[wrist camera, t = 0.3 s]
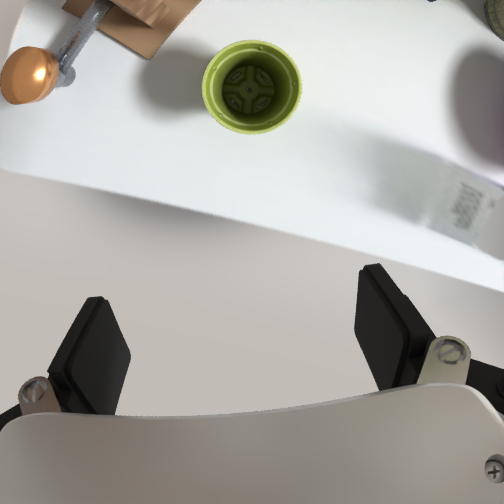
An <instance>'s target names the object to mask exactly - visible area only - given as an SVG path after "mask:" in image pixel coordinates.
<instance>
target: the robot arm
mask: <svg viewBox="0 0 504 504" xmlns="http://www.w3.org/2000/svg"><path fill="white" fill-rule="evenodd" d="M354 329H355V330H354V331H355V335H356V338H357V340H358V342H359V344H360V347H361V349H362V351H363V353H364V356H365V358H366V360H367V363H368V365H369V367H370V370H371V372H372V374H373V377H374V379H375V382H376V384H377V386H378V389H379V391H378V392H373V393H369V394H364V395H359V396H354V397H349V398H343V399H338V400H333V401H327V402H321V403H315V404H309V405H303V406H296V407H288V408H281V409H273V410H264V411H255V412H244V413H233V414H218V415H199V416H158V417H157V416H117V415H115V411H116V408H117V404H118V400H119V397H120V393H121V389H122V387H123V383H124V380H125V376H126V373H127V370H128V367H129V363H130V360H131V354H130V350H129V348H128V346H127V344H126V342H125V339H124V337H123V335H122V333H121V331H120V328H119V325H118V323H117V321H116V318H115V316H114V313H113V311H112V309H111V306H110V304H109V302H108V300H105V299H104V298H103V297H102V296H99V297H89V298H87V300H86V302H85V303H84V305H83V307H82V308H81V310H80V312H79V313H78V315H77V317H76V318H75V320H74V322H73V324H72V326H71V327H70V329H69V331H68V333H67V335H66V336H65V338H64V340H63V342H62V343H61V345H60V347H59V349H58V351H57V353H56V355H55V357H54V358H53V360H52V362H51V364H50V366H49V368H48V370H47V372H48V373H49V377H48V378H45V377H42V376H38V377H34V378H31V379H29V380H28V381H27V382H25V383H24V384H23V385H22V387H21V388H20V390H19V394H18V400H19V404H17V405H16V406H14V407H12V408H11V409H9V410H7V411H6V412H4V413H2V414H1V415H0V504H504V369H501V368H498V367H495V366H492V365H489V364H486V363H483V362H480V361H477V360H474V359H471V351H470V349H469V347H468V345H467V344H466V343H465V342H464V341H462V340H461V339H459V338H456V337H453V336H441V337H438V338H436V336H435V335H434V333H433V332H432V330H431V329H430V327H429V326H428V325H427V323H426V322H425V320H424V319H423V317H422V316H421V315H420V313H419V312H418V310H417V309H416V308H415V306H414V305H413V304H412V302H411V301H410V300H409V298H408V297H407V296H406V295H404V294H403V293H402V292H401V291H400V289H399V288H398V287H397V286H396V284H395V283H394V282H393V280H392V279H391V277H390V276H389V275H388V273H387V272H386V271H385V269H384V268H383V267H382V266H381V264H380V263H377V264H371V265H365V266H364V268H363V270H360V271H359V279H358V292H357V304H356V316H355V326H354Z"/></svg>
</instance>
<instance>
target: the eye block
mask: <svg viewBox="0 0 504 504" xmlns="http://www.w3.org/2000/svg"><path fill="white" fill-rule="evenodd" d="M110 1H112V2H113V3H115V5H114V6H113V7H112V8H111V10H110V11H109V12H108V13H107V15H106V16H105V17H104V19H103V20H102V21H101V23H100V24H99V25H98V27H97V28H98V29H100V30H101V31H103V32H105V33H106V34H108V35H110V36H111V37H113V38H115V39H116V40H118V41H120V42H121V43H123V44H125V45H126V46H128V47H129V48H131V49H133V50H134V51H136V52H137V53H139V54H140V55H142V56H144V57H145V58H147V59H148V60H150V59H151V58H152V57H153V55H154V54H155V53H156V51H157V50H158V49H159V48H160V47H161V45H162V44H163V43H164V42H165V40H166V39H167V38H168V37H169V36H170V34H171V33H172V32H173V31H174V30H175V29H176V27H177V26H178V25H179V24H180V23H181V22H182V21H183V20H184V18H185V17H186V16H187V15H188V14H189V13H190V12H191V11H192V10H193V9H194V8H195V6H196V5H197V4H198V3H199V2H200V1H201V0H110ZM93 2H94V0H67V1H66V3H65V4H64V5H63V7H62V9H64V10H66V11H67V12H69V13H71V14H73V15H75V16H77V17H79V18H80V19H81V18H82V16H83V15H84V14H85V12H86V11H87V10H88V8H89V7H90V6H91V4H92V3H93Z"/></svg>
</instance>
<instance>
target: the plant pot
mask: <svg viewBox="0 0 504 504" xmlns="http://www.w3.org/2000/svg"><path fill="white" fill-rule="evenodd" d="M239 72H240V73H241V75H239V76H237V77H236V78H235V79H234V80H232V77H233V76H234V75H235V74H237V73H239ZM260 74H262V75H263V76H264V77H266V78H267V80H268V82H265V80H264V79H263V78H262V77H261V76H260ZM248 88H250V89H251V92H248V91H247V89H248ZM301 94H302V80H301V75H300V72H299V70H298V67H297V66H296V64H295V62H294V61H293V59H292V58H291V57H290V56H289V55H288V54H287V53H286V52H285V51H283V50H282V49H281V48H279V47H277V46H275V45H273V44H271V43H268V42H264V41H259V40H244V41H239V42H236V43H233V44H231V45H229V46H227V47H225V48H223V49H222V50H221V51H219V52H218V53H217V54H216V55H215V56H214V57H213V58H212V60H211V61H210V62H209V64H208V66H207V68H206V70H205V72H204V75H203V79H202V97H203V101H204V104H205V106H206V108H207V110H208V111H209V113H210V114H211V116H212V117H213V118H214V119H215V120H216V121H217V122H218V123H220V124H221V125H222V126H224V127H226V128H227V129H230V130H232V131H235V132H238V133H242V134H262V133H266V132H269V131H272V130H274V129H276V128H278V127H280V126H281V125H283V124H284V123H285V122H286V121H287V120H288V119H289V118H290V117H291V116H292V115H293V114H294V112H295V110H296V109H297V107H298V105H299V102H300V99H301ZM231 98H232V99H233V100H234V101H235V103H237V104H238V105H239V106H238V107H236V106H235V105H234V104H233V103H232V102H231ZM265 100H266V103H265V104H264V105H263V106H262V107H260V108H258V107H257V106H258V105H260V104H261V103H262V102H263V101H265Z"/></svg>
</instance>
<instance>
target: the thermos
mask: <svg viewBox="0 0 504 504" xmlns="http://www.w3.org/2000/svg"><path fill="white" fill-rule="evenodd" d="M485 14H486V17H487V20H488V22H489V24H490V26H491V28H492V30H493V31H494V33H495V34H496V35H497V36H498V37H499V38H500V39H501V40H503V41H504V0H486V1H485Z"/></svg>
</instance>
